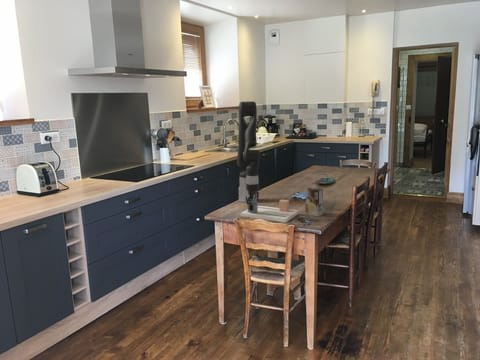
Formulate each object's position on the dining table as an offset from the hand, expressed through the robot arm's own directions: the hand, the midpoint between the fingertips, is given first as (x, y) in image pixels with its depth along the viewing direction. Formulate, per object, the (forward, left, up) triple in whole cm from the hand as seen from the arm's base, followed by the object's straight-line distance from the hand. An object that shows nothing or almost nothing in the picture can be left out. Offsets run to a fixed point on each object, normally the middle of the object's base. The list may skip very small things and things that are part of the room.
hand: (252, 209), depth 254 cm
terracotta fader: (+16, +12, -1) cm, 20 cm away
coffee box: (+33, +19, -4) cm, 38 cm away
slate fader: (0, 0, -1) cm, 1 cm away
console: (+9, +6, -4) cm, 11 cm away
